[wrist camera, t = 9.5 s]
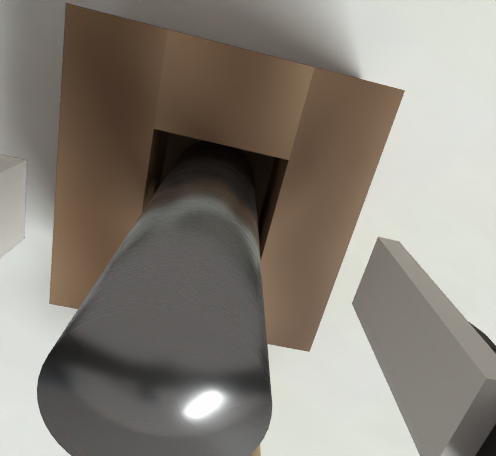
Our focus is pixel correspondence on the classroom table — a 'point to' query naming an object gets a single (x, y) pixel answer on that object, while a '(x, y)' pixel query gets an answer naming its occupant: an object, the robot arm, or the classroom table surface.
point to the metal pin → (171, 327)
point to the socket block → (217, 131)
